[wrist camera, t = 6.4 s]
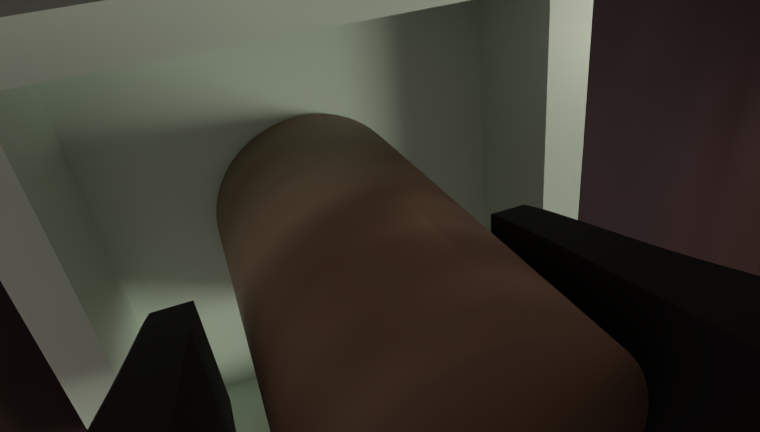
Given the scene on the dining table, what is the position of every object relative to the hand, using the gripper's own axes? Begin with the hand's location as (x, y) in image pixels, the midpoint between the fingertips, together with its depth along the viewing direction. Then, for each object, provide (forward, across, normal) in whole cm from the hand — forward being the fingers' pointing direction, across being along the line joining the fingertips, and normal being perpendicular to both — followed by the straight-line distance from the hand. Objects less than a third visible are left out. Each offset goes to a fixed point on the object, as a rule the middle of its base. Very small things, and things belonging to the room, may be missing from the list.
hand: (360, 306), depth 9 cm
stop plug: (+3, 0, 0) cm, 3 cm away
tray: (+4, 0, 0) cm, 4 cm away
